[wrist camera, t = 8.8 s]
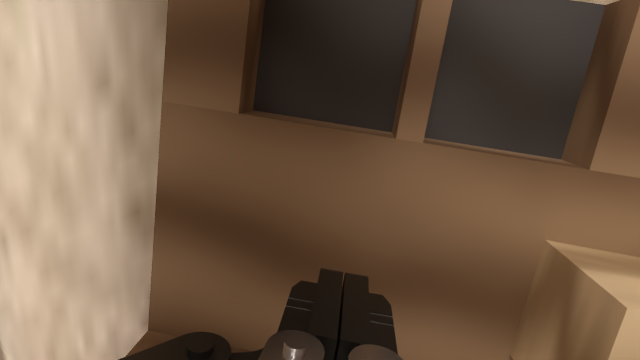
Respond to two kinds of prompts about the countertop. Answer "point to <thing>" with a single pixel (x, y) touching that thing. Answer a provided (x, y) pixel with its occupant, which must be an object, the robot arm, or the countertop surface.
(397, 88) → the box
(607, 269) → the maple block
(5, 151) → the countertop surface
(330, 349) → the robot arm
